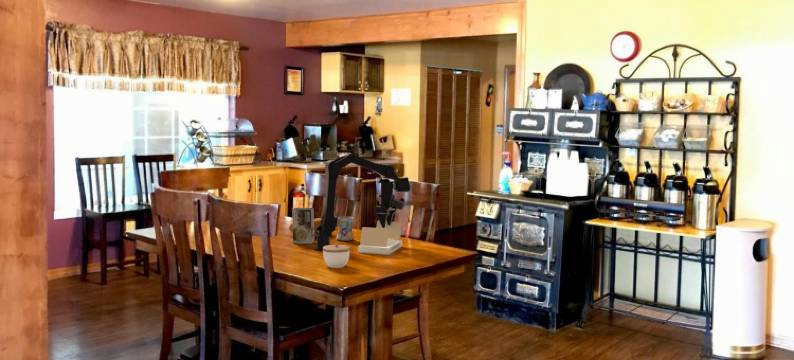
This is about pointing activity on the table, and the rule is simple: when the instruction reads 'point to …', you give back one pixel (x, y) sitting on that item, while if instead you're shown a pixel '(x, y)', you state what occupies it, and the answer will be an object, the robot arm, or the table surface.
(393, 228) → the far flap
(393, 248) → the carton
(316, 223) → the bread
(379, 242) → the near flap
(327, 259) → the lidded jar
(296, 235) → the coffee box
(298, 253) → the table surface
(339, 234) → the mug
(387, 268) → the table surface
